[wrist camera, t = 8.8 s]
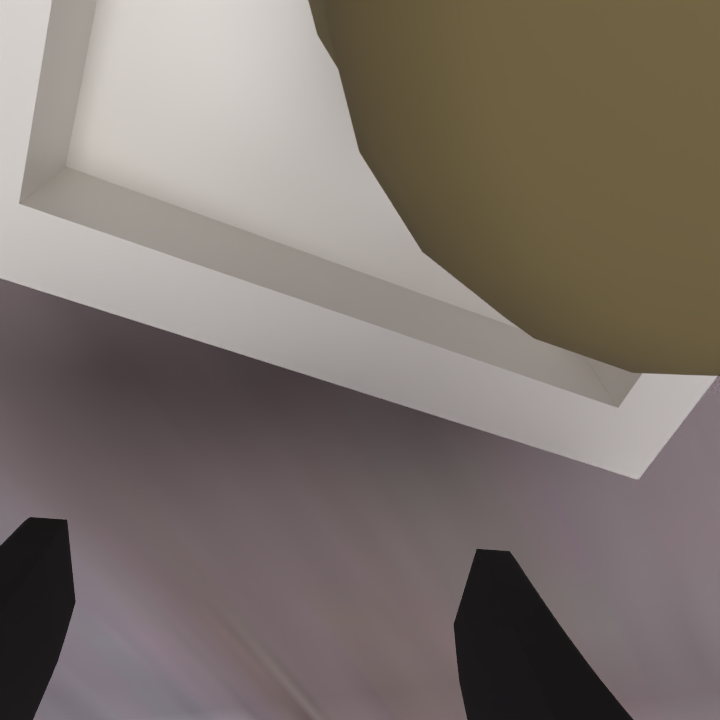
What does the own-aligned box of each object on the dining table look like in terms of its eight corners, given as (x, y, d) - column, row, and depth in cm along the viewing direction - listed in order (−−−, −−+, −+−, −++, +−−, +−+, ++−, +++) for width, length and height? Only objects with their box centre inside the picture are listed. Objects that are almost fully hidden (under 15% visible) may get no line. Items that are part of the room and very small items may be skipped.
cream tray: (987, -178, 12) (1170, -215, 9) (593, 404, 18) (638, 480, 15) (122, -748, 9) (35, -1048, 6) (-11, 199, 15) (-84, 251, 12)
